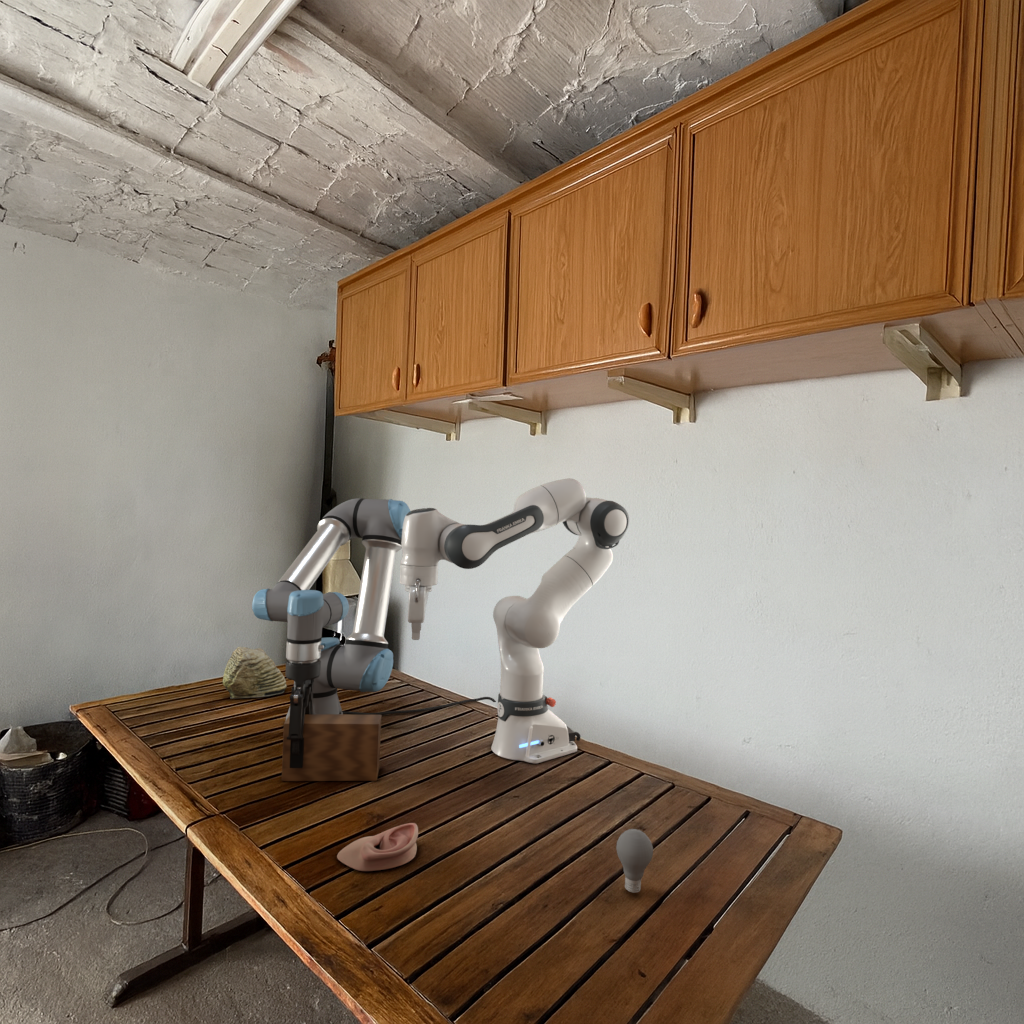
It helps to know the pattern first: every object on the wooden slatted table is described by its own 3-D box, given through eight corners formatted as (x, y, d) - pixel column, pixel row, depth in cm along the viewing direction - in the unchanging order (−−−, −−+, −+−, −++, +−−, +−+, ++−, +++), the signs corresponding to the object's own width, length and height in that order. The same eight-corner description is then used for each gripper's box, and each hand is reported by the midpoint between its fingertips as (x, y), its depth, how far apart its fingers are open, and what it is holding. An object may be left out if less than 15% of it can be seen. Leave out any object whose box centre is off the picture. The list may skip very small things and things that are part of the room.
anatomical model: (329, 843, 109) (358, 811, 120) (328, 865, 109) (357, 832, 120) (402, 855, 106) (425, 821, 117) (401, 878, 106) (424, 842, 117)
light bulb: (610, 879, 108) (613, 822, 108) (644, 879, 109) (647, 822, 109) (619, 902, 102) (622, 840, 102) (655, 901, 103) (658, 840, 103)
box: (281, 781, 140) (283, 723, 140) (288, 769, 146) (290, 714, 146) (376, 780, 142) (378, 723, 142) (379, 769, 148) (381, 714, 148)
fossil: (218, 695, 195) (220, 647, 195) (278, 685, 208) (279, 640, 207) (228, 703, 189) (230, 653, 188) (289, 692, 201) (290, 645, 201)
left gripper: (312, 671, 134) (307, 779, 134) (328, 649, 153) (324, 744, 153) (275, 670, 133) (271, 779, 133) (296, 649, 152) (292, 744, 153)
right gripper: (431, 582, 139) (429, 645, 140) (432, 571, 160) (430, 626, 160) (402, 582, 139) (400, 644, 139) (407, 571, 159) (405, 625, 159)
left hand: (299, 760), depth 143 cm, fingers closed on box, 6 cm apart
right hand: (416, 634), depth 150 cm, fingers open, 8 cm apart
